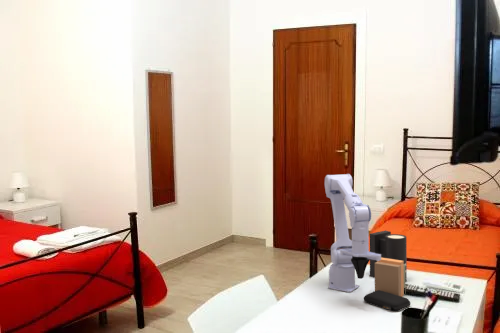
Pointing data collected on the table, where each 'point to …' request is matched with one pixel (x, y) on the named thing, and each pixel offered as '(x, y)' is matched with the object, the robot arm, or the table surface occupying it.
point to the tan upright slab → (390, 276)
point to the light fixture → (388, 248)
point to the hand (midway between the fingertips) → (360, 277)
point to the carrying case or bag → (387, 300)
